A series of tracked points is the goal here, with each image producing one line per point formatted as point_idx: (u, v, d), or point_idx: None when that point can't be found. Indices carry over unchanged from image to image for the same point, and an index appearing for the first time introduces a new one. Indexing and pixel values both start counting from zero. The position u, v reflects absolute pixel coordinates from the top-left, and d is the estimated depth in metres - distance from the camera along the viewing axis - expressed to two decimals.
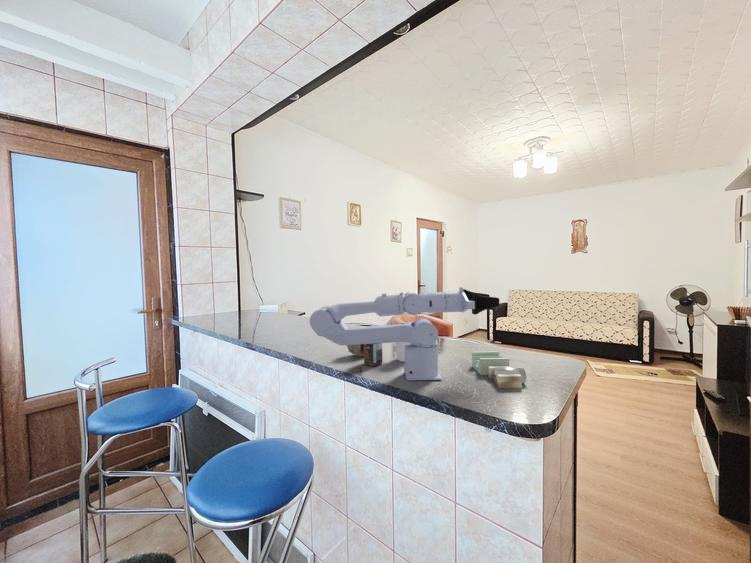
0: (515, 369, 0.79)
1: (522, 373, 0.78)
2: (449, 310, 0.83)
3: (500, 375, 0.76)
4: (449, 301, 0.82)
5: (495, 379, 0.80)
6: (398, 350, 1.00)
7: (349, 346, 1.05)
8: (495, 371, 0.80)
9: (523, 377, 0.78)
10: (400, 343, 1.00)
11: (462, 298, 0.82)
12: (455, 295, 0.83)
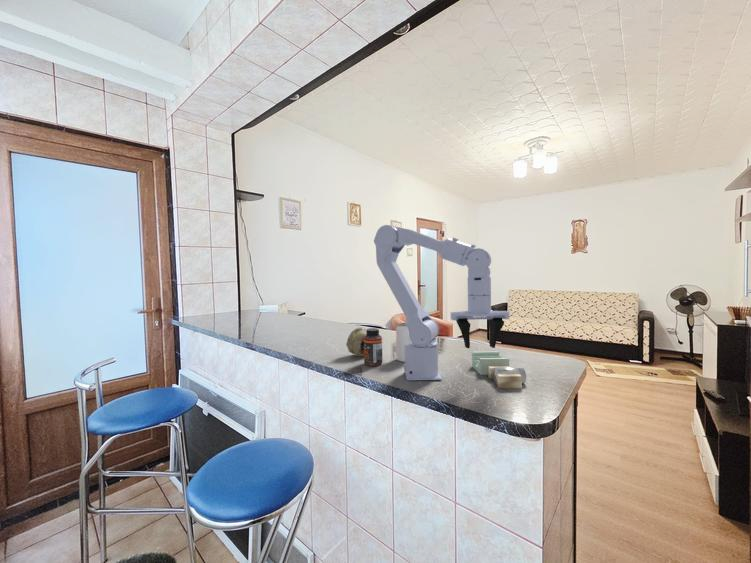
0: (515, 369, 0.79)
1: (522, 373, 0.78)
2: None
3: (500, 375, 0.76)
4: (469, 298, 0.79)
5: (495, 379, 0.80)
6: (398, 350, 1.00)
7: (349, 346, 1.05)
8: (495, 371, 0.80)
9: (523, 377, 0.78)
10: (400, 343, 1.00)
11: (470, 312, 0.78)
12: (473, 306, 0.77)
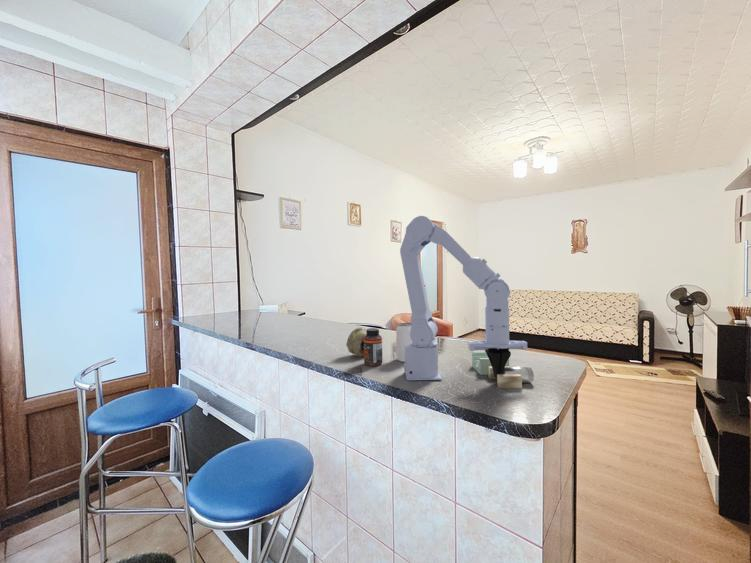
0: (523, 368, 0.79)
1: (529, 372, 0.78)
2: None
3: (500, 375, 0.76)
4: (487, 329, 0.79)
5: None
6: (398, 350, 1.00)
7: (349, 346, 1.05)
8: None
9: (531, 376, 0.77)
10: (400, 343, 1.00)
11: (488, 343, 0.78)
12: (492, 337, 0.77)
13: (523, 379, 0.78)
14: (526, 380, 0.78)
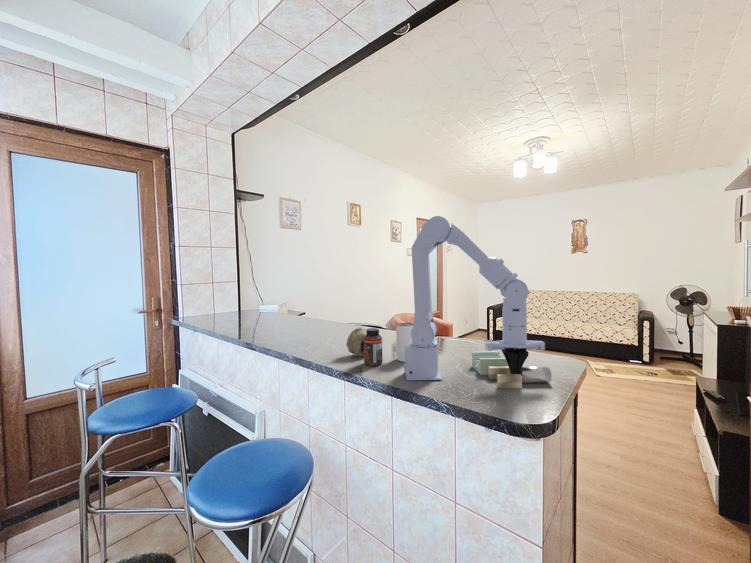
0: (540, 368, 0.79)
1: (547, 372, 0.78)
2: None
3: (500, 375, 0.76)
4: (504, 328, 0.79)
5: None
6: (398, 350, 1.00)
7: (349, 346, 1.05)
8: None
9: (548, 376, 0.77)
10: (400, 343, 1.00)
11: (506, 343, 0.78)
12: (510, 337, 0.77)
13: (541, 379, 0.78)
14: (544, 380, 0.78)
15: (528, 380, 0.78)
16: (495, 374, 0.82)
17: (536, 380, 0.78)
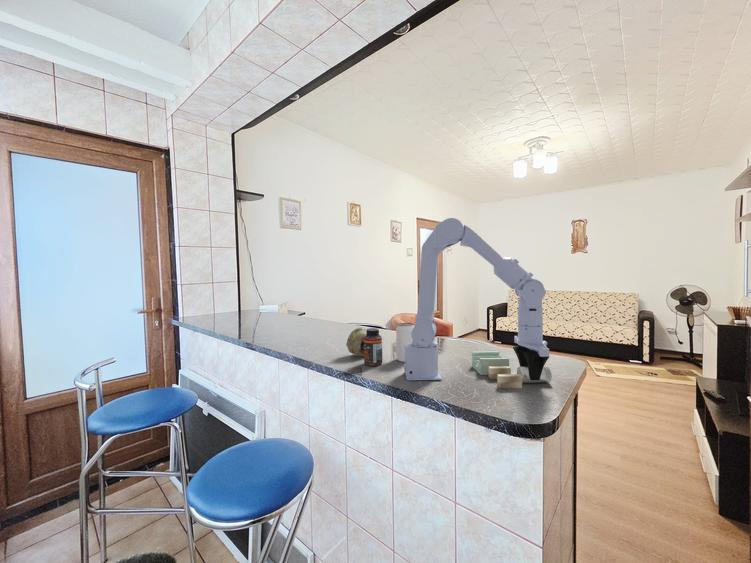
0: None
1: (547, 372, 0.78)
2: (525, 329, 0.77)
3: (500, 375, 0.76)
4: (537, 329, 0.76)
5: None
6: (398, 350, 1.00)
7: (349, 346, 1.05)
8: (520, 370, 0.79)
9: (548, 376, 0.77)
10: (400, 343, 1.00)
11: (540, 343, 0.77)
12: (542, 336, 0.77)
13: (541, 379, 0.78)
14: (544, 380, 0.78)
15: (528, 380, 0.78)
16: (495, 374, 0.82)
17: (536, 380, 0.78)
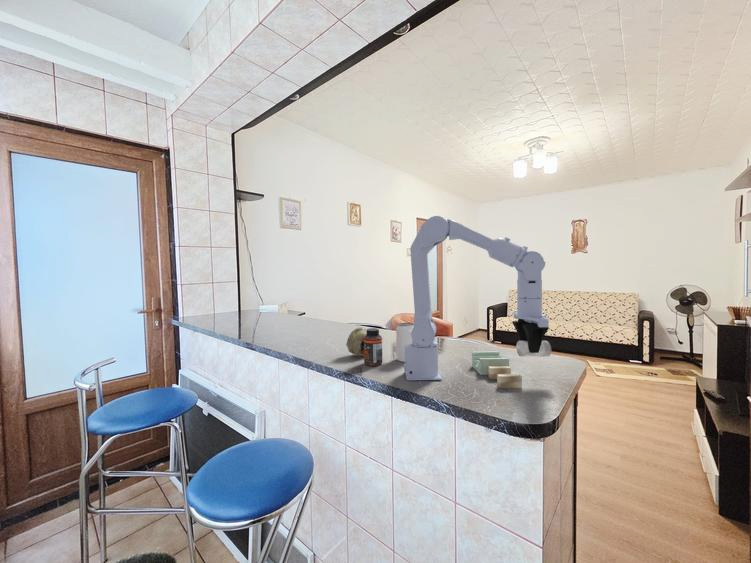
0: None
1: (547, 346, 0.78)
2: (524, 302, 0.77)
3: (500, 375, 0.76)
4: (536, 302, 0.76)
5: (519, 352, 0.80)
6: (398, 350, 1.00)
7: (349, 346, 1.05)
8: (519, 344, 0.79)
9: (548, 350, 0.77)
10: (400, 343, 1.00)
11: (539, 316, 0.76)
12: (541, 308, 0.77)
13: (540, 353, 0.77)
14: (543, 354, 0.78)
15: (528, 354, 0.78)
16: (495, 374, 0.82)
17: (536, 354, 0.78)
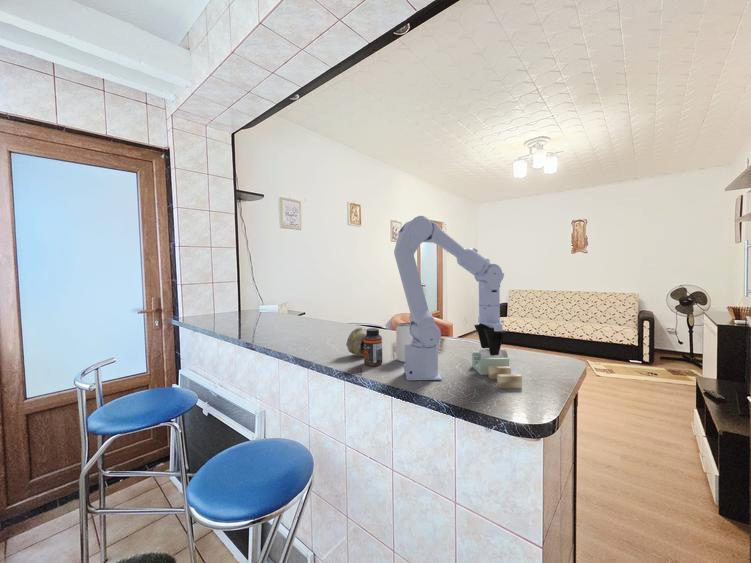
0: None
1: (504, 354, 0.88)
2: (484, 309, 0.87)
3: (500, 375, 0.76)
4: (494, 308, 0.86)
5: None
6: (398, 350, 1.00)
7: (349, 346, 1.05)
8: (480, 352, 0.90)
9: (505, 357, 0.87)
10: (400, 343, 1.00)
11: (496, 321, 0.87)
12: (498, 314, 0.87)
13: None
14: None
15: None
16: (495, 374, 0.82)
17: None
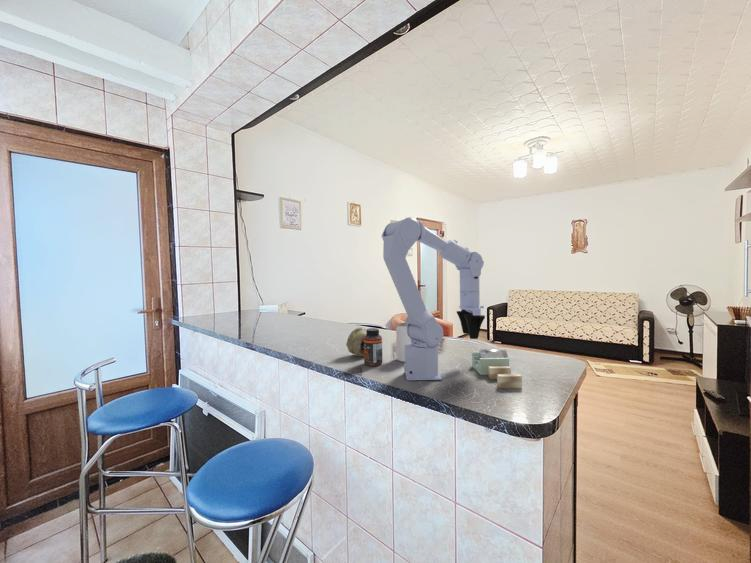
0: (498, 351, 0.89)
1: (504, 354, 0.88)
2: (464, 295, 0.91)
3: (500, 375, 0.76)
4: (474, 294, 0.90)
5: None
6: (398, 350, 1.00)
7: (349, 346, 1.05)
8: (480, 352, 0.90)
9: (505, 357, 0.87)
10: (400, 343, 1.00)
11: (476, 306, 0.91)
12: (478, 300, 0.91)
13: None
14: None
15: None
16: (495, 374, 0.82)
17: None
